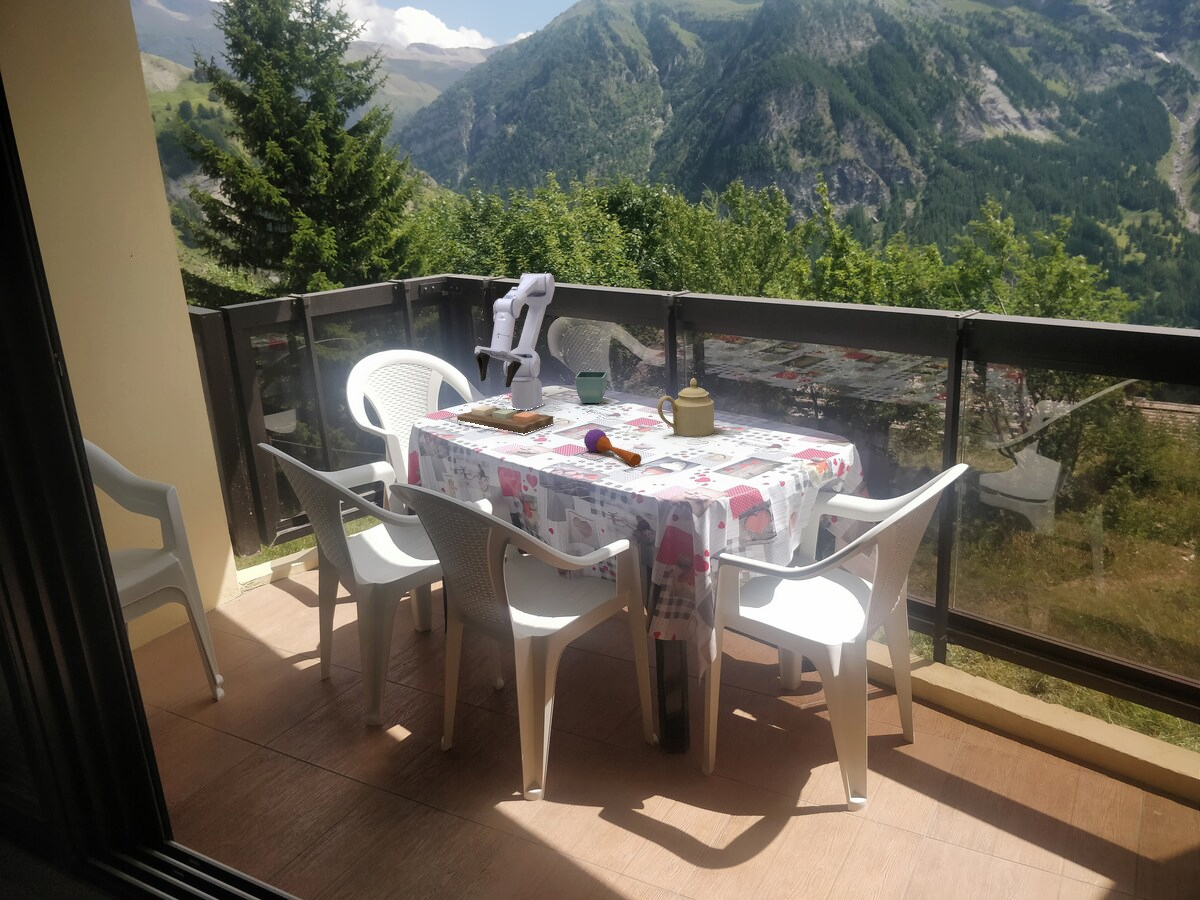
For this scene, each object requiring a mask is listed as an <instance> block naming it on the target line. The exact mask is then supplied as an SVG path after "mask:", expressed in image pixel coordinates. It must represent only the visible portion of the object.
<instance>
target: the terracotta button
mask: <svg viewBox="0 0 1200 900" xmlns="http://www.w3.org/2000/svg"><path fill="white" fill-rule="evenodd" d="M538 414H539V413H537V412H532V411H531V412H530V411H522V413H519V414H516V415H513V418H514V421H517V422H523V423H530V422H532V421H535V420H538V419H539V415H538Z"/></svg>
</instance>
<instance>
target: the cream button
mask: <svg viewBox="0 0 1200 900" xmlns="http://www.w3.org/2000/svg"><path fill="white" fill-rule="evenodd" d="M496 408H497V407H496V406H493V405H491V406H490V405H486V404H485V405H479V406H476V407H473V408H471V410H470V412H472V414H473V415H479V416H487V415H490V414H492V412H494V411H496Z"/></svg>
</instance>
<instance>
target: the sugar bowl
mask: <svg viewBox="0 0 1200 900" xmlns="http://www.w3.org/2000/svg"><path fill="white" fill-rule="evenodd" d="M697 384H698V382H697V379H696V378H695V377H692V378H691V379H690V382H689V385H690V386H688V387H685V388H683V389H682V390H681V391H679V392H678V393H677V395H678V397H677V399H674V398H673V397H672V396H670V395H664V396H662V397H660V398H659V400H658V402H657V407H656V408H657V413H658V415H659V417H660V419H661V420H662V421H663V422H664V423H665V424H666V425H668V426H670V427H671V428H672V430H673V433H674V434H675V435H677V436H681V437H688V438H690V437H691V438H697V437H698V438H699V437H700V436H701V437H705V436H706V435H707V436H710V435H712V434H713V433H714V431H715V426H714V425H715V403H714V402H715V401H714V400H713V399H711V398H710V397H709V396H708V395H710V393H709V391H707V390H705V389H704V388H702V387H698V386H697ZM667 400H669V401H670V404H671V408H672V422H671V421H669V420H668V419H667V418H666V417H665V415H664V412H663V404H664V402H665V401H667ZM707 436H706V437H707Z"/></svg>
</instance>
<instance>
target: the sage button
mask: <svg viewBox="0 0 1200 900" xmlns="http://www.w3.org/2000/svg"><path fill="white" fill-rule="evenodd" d="M517 411H518V410H513V409H507V408H506V407H505V408H504V407H503V408H502V409H500V410H497V411H494V412H492V418H498V419H504V420H506V419H509V418H512V417H513V415H516V414H517Z"/></svg>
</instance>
